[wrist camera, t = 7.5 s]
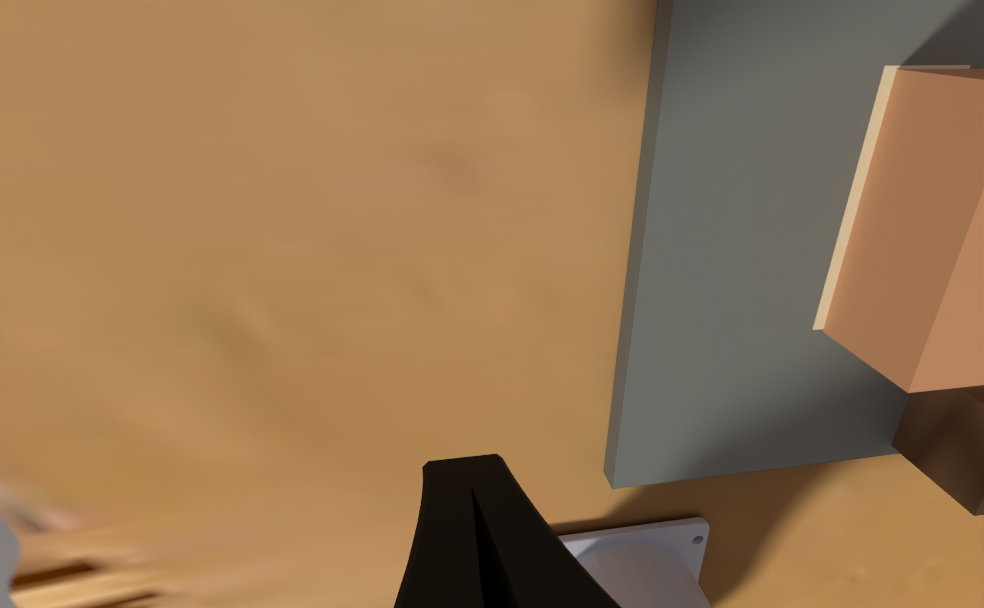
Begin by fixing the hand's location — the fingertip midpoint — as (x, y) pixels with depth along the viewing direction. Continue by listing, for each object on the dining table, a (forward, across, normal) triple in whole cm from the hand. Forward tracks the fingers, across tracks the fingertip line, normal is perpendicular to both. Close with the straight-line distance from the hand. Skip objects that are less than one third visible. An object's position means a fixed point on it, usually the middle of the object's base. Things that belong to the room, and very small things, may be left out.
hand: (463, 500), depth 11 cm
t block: (+9, -19, -2) cm, 21 cm away
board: (+10, -16, 0) cm, 18 cm away
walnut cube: (+9, -21, +6) cm, 24 cm away
